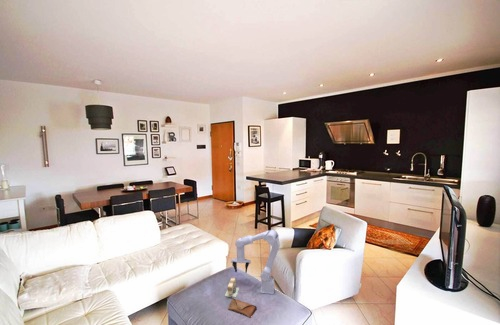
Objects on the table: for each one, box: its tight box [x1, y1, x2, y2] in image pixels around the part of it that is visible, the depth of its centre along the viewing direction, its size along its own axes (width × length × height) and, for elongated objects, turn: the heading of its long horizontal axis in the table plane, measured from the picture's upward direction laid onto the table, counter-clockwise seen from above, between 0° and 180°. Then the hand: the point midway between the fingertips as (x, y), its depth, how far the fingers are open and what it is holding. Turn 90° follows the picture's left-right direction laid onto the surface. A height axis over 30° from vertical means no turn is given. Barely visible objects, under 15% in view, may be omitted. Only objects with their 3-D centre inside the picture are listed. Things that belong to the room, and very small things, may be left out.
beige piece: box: [226, 276, 237, 295], centre depth 161 cm, size 12×3×5 cm, turn 170°
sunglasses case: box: [227, 297, 258, 319], centre depth 145 cm, size 18×7×7 cm, turn 64°
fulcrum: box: [224, 286, 240, 299], centre depth 162 cm, size 8×10×3 cm
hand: (241, 271), depth 170 cm, fingers open, 7 cm apart
